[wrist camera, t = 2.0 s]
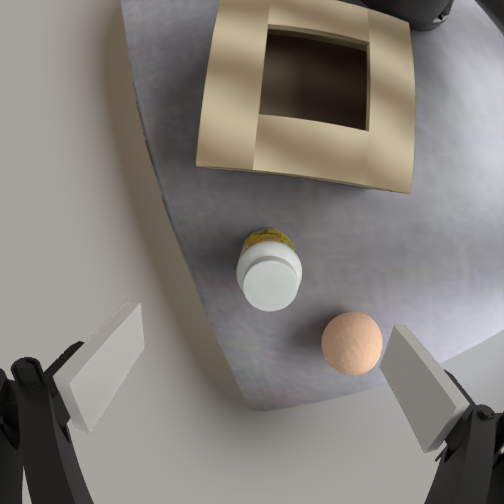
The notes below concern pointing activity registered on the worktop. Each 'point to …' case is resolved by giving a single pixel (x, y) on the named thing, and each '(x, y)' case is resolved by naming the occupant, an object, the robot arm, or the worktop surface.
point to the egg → (352, 343)
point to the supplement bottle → (269, 270)
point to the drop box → (310, 93)
